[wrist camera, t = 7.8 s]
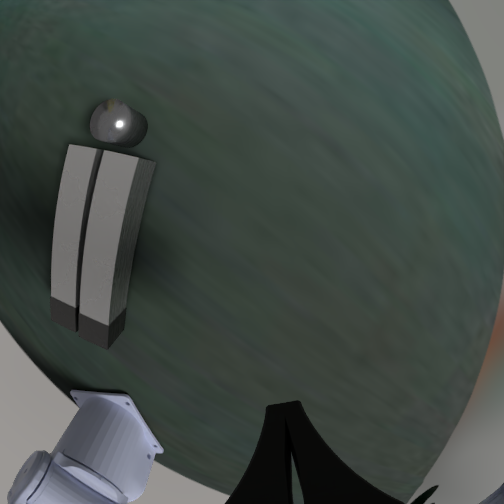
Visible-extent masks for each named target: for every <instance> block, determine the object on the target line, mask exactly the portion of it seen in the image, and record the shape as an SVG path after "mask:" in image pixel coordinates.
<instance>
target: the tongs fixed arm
mask: <svg viewBox="0 0 504 504" xmlns="http://www.w3.org/2000/svg"><path fill="white" fill-rule="evenodd" d="M147 129H148V124H147V120H146V118H145V117H144V116H143V115H142V114H141V113H139V112H138V111H136V110H134V109H133V108H131V107H130V106H128V105H127V104H125V103H123V102H122V101H120V100H118V99H109V100H106V101H104V102H102V103H101V104H100V105H99V106H98V107H97V108H96V109H95V111H94V112H93V114H92V117H91V120H90V131H91V133H92V135H93V136H94V137H95V138H96V139H98V140H100V141H104V142H108V143H111V144H115V145H118V146H122V147H125V148H130V147H134V146H136V145H138V144H139V143H140V142H141V141H142V140H143V139H144V137H145V135H146V133H147ZM103 153H104V150H100V149H95V148H90V147H84V146H77V145H71V144H69V147H68V151H67V155H66V160H65V164H64V168H63V173H62V178H61V183H60V189H59V195H58V201H57V208H56V215H55V224H54V234H53V246H52V265H51V297H50V307H51V320H52V321H54V322H56V323H58V324H60V325H62V326H64V327H66V328H68V329H70V330H72V331H74V332H77V331H78V330H79V313H80V289H81V275H82V264H83V254H84V246H85V238H86V232H87V225H88V219H89V213H90V208H91V203H92V198H93V193H94V189H95V184H96V180H97V176H98V172H99V168H100V164H101V160H102V157H103Z"/></svg>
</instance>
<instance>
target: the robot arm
mask: <svg viewBox="0 0 504 504" xmlns="http://www.w3.org/2000/svg"><path fill="white" fill-rule="evenodd" d="M70 394H71V396H72V397H73V399H74V400H75V402H76V403H77V405H78V407H79V408H80V409H79V411H78V412H77V414H76V415H75V417H74V418H73V420H72V421H71V423H70V425H69V426H68V427H67V429H66V431H65V432H64V434H63V435H62V437H61V439H60V440H59V442H58V443H57V445H56V447H55V448H54V450H53V452H52V453H50V454H49V453H48V452H46V451H44V450H43V451H35V452H34V453H33V454H32V455H31V456H30V457H29V458H28V459H27V461H26V462H25V463H24V465H23V466H22V468H21V469H20V471H19V472H18V474H17V476H16V478H15V480H14V483H13V486H12V487H11V489H10V491H9V492H8V496H7V500H8V504H127V503H128V502H132V501H134V500H136V499H137V498H138V497H140V496H141V494H142V493H143V492H144V490H145V487H146V484H147V480H148V477H149V473H150V470H151V467H152V464H153V460H154V457H155V454H156V453H163V451H164V450H163V448H162V447H161V445H160V444H159V442H158V441H157V439H156V438H155V436H154V435H153V434H152V432H151V430H150V429H149V427H148V426H147V424H146V423H145V421H144V420H143V418H142V416H141V415H140V413H139V411H138V410H137V408H136V406H135V405H134V403H133V401H132V399H131V398H130V396H128V395H127V394H117V393H102V392H90V391H80V390H71V392H70ZM291 452H292V456H293V460H294V463H295V467H296V471H297V474H298V478H299V482H300V485H301V489H302V494H303V498H304V504H404V503H403V502H401V501H399V500H397V499H395V498H393V497H391V496H389V495H388V494H386V493H384V492H382V491H381V490H379V489H377V488H376V487H374V486H373V485H371V484H370V483H368V482H367V481H366V480H364V479H363V478H362V477H360V476H359V475H358V474H356V473H355V472H354V471H353V470H352V469H350V468H349V467H348V466H347V465H346V464H345V463H344V462H343V461H342V460H341V459H340V458H339V457H338V456H337V455H336V454H335V453H334V452H333V451H332V450H331V449H330V447H329V446H328V445H327V444H326V443H325V441H324V440H323V439H322V438H321V436H320V435H319V433H318V432H317V431H316V429H315V428H314V426H313V425H312V423H311V422H310V420H309V418H308V417H307V415H306V413H305V411H304V409H303V407H302V404H301V402H300V401H298V400H297V401H291V402H286V403H280V404H274V405H268V406H267V407H266V414H265V420H264V424H263V428H262V432H261V435H260V438H259V441H258V444H257V447H256V450H255V452H254V454H253V457H252V459H251V461H250V464H249V466H248V468H247V470H246V472H245V473H244V475H243V477H242V479H241V481H240V482H239V484H238V485H237V487H236V488H235V490H234V492H233V493H232V494H231V496H230V497H229V499H228V500H227V501H226V503H225V504H293V494H292V462H291ZM479 504H504V483H503V484H502V486H501V487H500V488H499V489H497V490H496V491H495V492H494V493H493V494H491V495H490V496H489V497H487V498H486V499H485V500H483V501H482V502H481V503H479Z"/></svg>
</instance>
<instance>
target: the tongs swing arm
mask: <svg viewBox="0 0 504 504" xmlns="http://www.w3.org/2000/svg"><path fill="white" fill-rule="evenodd" d="M155 166H156V162H154V161H150V160H146V159H142V158H138V157H133V156H129V155H125V154H120V153H116V152H111V151H106V150H104V153H103V157H102V160H101V164H100V168H99V172H98V176H97V180H96V184H95V189H94V193H93V198H92V203H91V208H90V213H89V219H88V225H87V232H86V238H85V246H84V254H83V264H82V275H81V289H80V313H79V337H81V338H83V339H85V340H87V341H89V342H91V343H93V344H96V345H98V346H100V347H102V348H104V349H107V350H108V349H109V347H110V346H111V345H112V344H113V342H114V341H115V340H116V339H117V337H118V336H119V335H120V334H121V332H122V331H123V330H124V325H125V316H126V301H127V294H128V287H129V280H130V274H131V268H132V262H133V257H134V252H135V247H136V242H137V237H138V232H139V227H140V223H141V219H142V214H143V210H144V206H145V202H146V198H147V194H148V190H149V187H150V183H151V179H152V176H153V172H154V169H155Z"/></svg>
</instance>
